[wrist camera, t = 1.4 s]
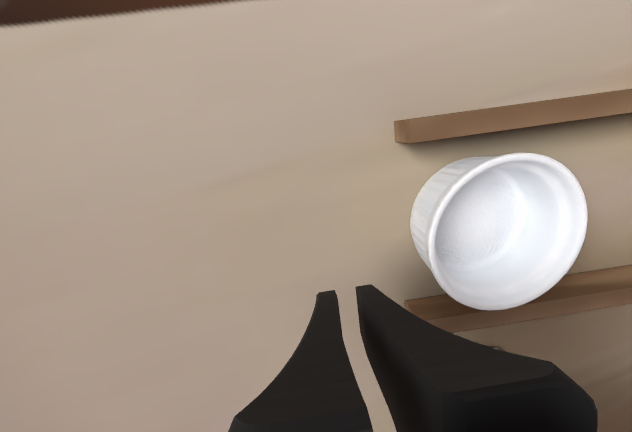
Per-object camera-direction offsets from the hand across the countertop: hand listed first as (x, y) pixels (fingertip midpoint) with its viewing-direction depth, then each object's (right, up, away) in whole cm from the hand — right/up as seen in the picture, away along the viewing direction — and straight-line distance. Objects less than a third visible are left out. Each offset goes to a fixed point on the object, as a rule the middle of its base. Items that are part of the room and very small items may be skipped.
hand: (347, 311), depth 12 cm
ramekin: (+9, +4, +9) cm, 13 cm away
